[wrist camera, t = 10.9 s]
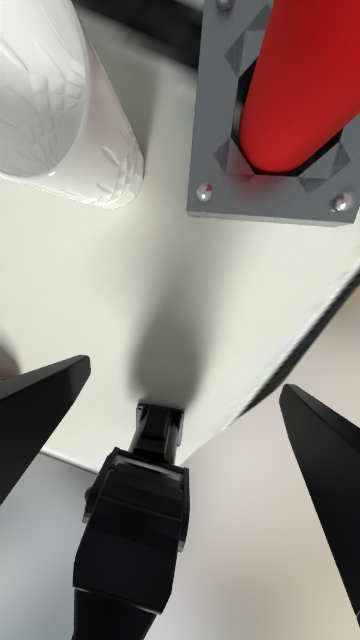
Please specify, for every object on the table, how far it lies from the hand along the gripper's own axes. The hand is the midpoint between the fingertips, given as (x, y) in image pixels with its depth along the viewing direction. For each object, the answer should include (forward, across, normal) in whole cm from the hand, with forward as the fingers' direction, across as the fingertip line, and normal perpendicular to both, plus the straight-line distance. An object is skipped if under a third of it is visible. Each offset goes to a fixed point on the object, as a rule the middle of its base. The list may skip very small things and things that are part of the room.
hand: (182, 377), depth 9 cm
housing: (+13, -5, -15) cm, 20 cm away
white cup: (+13, +9, -12) cm, 20 cm away
